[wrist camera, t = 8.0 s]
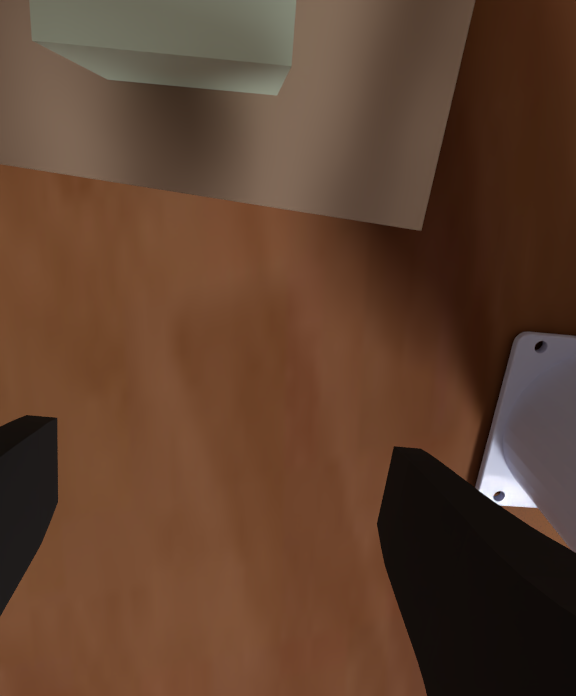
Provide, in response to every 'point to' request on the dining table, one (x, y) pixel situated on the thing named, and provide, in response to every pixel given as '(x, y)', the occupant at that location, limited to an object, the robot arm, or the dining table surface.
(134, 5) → the sage block
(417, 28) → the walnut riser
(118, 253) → the dining table surface
